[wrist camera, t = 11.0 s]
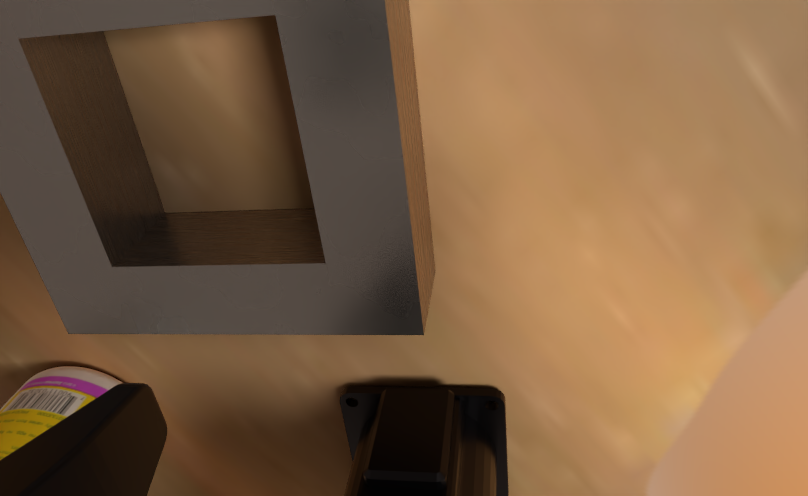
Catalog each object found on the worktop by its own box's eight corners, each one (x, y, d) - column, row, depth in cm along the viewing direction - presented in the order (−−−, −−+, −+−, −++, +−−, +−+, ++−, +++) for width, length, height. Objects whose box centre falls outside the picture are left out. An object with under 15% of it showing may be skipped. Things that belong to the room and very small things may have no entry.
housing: (435, 271, 22) (423, 334, 19) (123, 276, 24) (68, 333, 21) (395, -130, 16) (369, -131, 13) (-19, -76, 18) (-125, -66, 15)
